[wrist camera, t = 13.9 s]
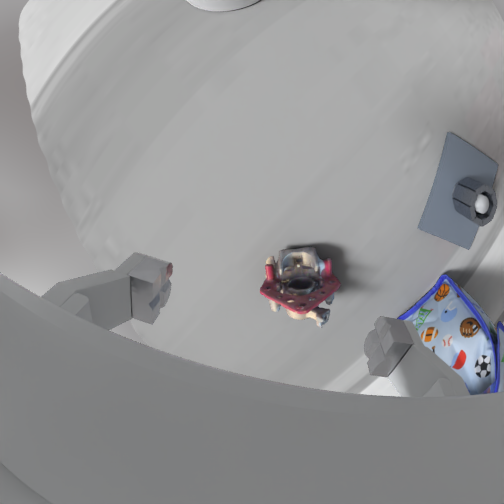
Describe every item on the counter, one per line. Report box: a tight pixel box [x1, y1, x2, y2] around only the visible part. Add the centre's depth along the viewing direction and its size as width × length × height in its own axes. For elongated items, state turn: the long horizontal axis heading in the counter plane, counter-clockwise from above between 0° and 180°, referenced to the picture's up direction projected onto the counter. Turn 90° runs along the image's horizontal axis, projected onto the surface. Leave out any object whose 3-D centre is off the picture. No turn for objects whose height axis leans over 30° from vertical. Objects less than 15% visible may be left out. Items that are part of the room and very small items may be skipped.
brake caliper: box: [260, 247, 341, 328], centre depth 39 cm, size 11×11×12 cm
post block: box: [418, 132, 498, 250], centre depth 30 cm, size 16×12×6 cm
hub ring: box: [452, 177, 497, 227], centre depth 29 cm, size 6×6×5 cm
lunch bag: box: [397, 274, 504, 395], centre depth 30 cm, size 23×17×27 cm
